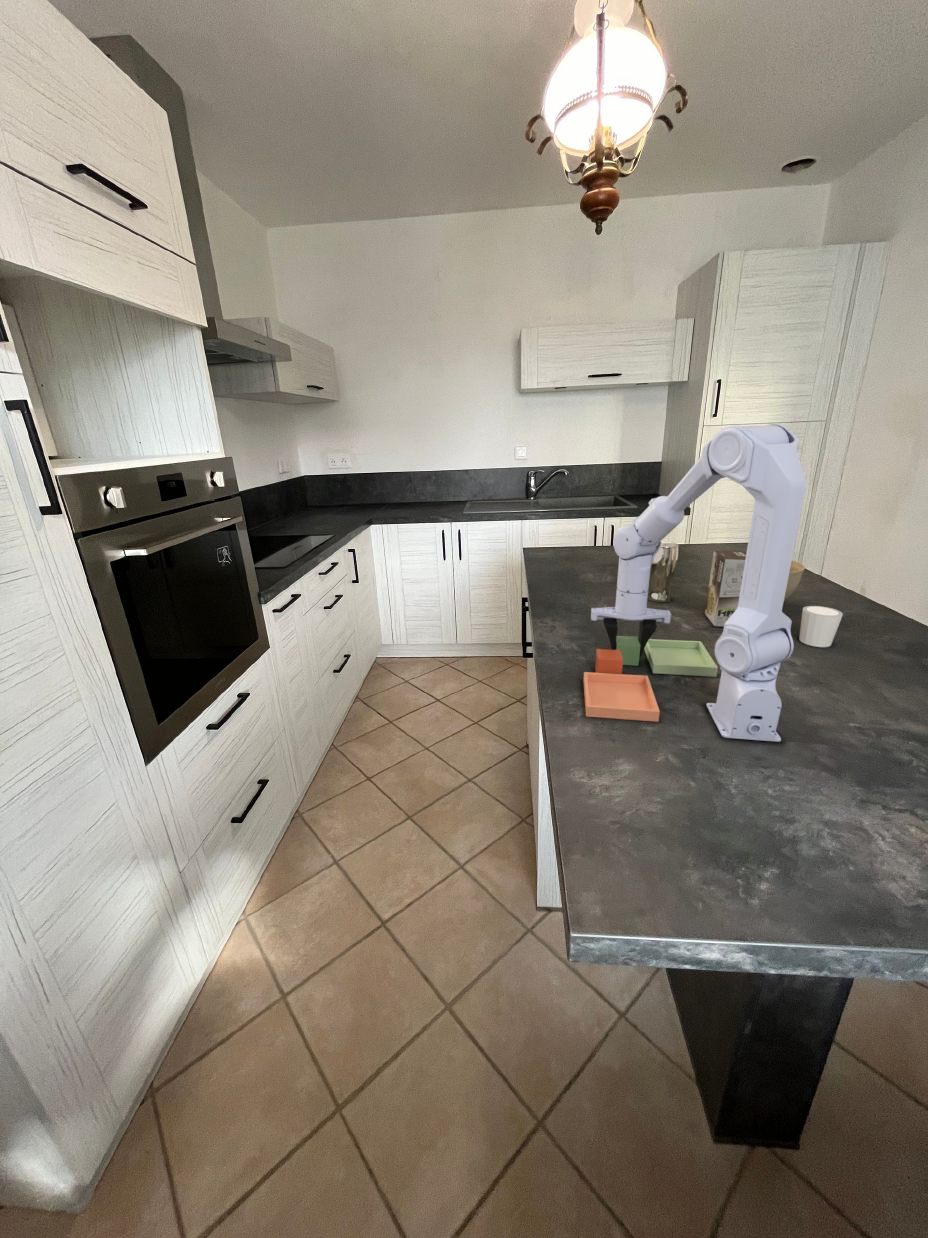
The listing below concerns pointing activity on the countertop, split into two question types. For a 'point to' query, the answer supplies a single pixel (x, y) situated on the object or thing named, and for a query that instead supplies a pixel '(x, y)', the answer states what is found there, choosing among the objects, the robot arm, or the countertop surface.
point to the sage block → (629, 649)
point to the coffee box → (724, 585)
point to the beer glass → (663, 572)
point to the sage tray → (680, 658)
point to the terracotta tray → (620, 697)
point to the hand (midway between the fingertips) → (626, 654)
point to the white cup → (819, 625)
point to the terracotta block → (609, 661)
